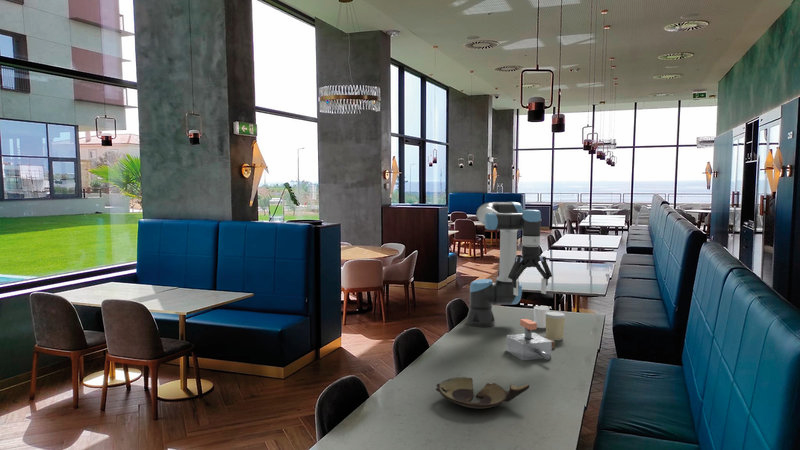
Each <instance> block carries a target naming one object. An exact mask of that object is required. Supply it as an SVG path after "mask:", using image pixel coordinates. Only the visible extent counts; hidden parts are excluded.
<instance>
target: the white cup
mask: <svg viewBox="0 0 800 450" xmlns="http://www.w3.org/2000/svg"><path fill="white" fill-rule="evenodd" d="M546 312H550V307H548V306H544V305H537V306H536V305H535V306H534V307H533V322H535V323H537V328H538V329H546V316H545V314H546Z"/></svg>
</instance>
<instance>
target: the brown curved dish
mask: <svg viewBox="0 0 800 450" xmlns="http://www.w3.org/2000/svg"><path fill="white" fill-rule="evenodd" d="M473 381H474V380H473V378H472V377H467V376H465V377H464V376H463V377H452V378H451V377H450V378H448V379H445V380H444V381H442V382H440V383H436V388H435V391H437V392H438V393H439V394H440V395H441V396H442V397H443V398H445V399H446V400H447V401H450V402H452V403H454V404H455V405H456V404H457V405H459V406H462V407H465V408H470V409H475V410H476V409H477V410H478V409H479V410H480V409H488V408H493V407H497V406H499V405H501V404H503V403H508V402H511V401H512V400H513V399H515V398H516V397H518V396H519V395H521V394H522V393H524V392H526V391H527V390H529V388H530V384H525V385H522V386H516V385H513V384H509V390H508V391H506V390H505V389H504V387H502V386H500V385H499V384H497V383H495V382H493V383H486V384H485V385H484V386H483V387H482V389H480V390H479V391H478V392H477V393H476V395H475V397H476V398H477V399H478V398H479V399H481V400H479V401H478V402H475V401H474V402H473V401H471V400H473V398H474V383H473ZM470 401H471V402H470Z"/></svg>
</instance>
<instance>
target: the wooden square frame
mask: <svg viewBox="0 0 800 450" xmlns="http://www.w3.org/2000/svg"><path fill="white" fill-rule="evenodd" d="M543 337H544V338H546V339H548V340H550V341H552V349H555V348H556V340H551V339H549V338H547V337H546V336H543Z"/></svg>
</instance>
